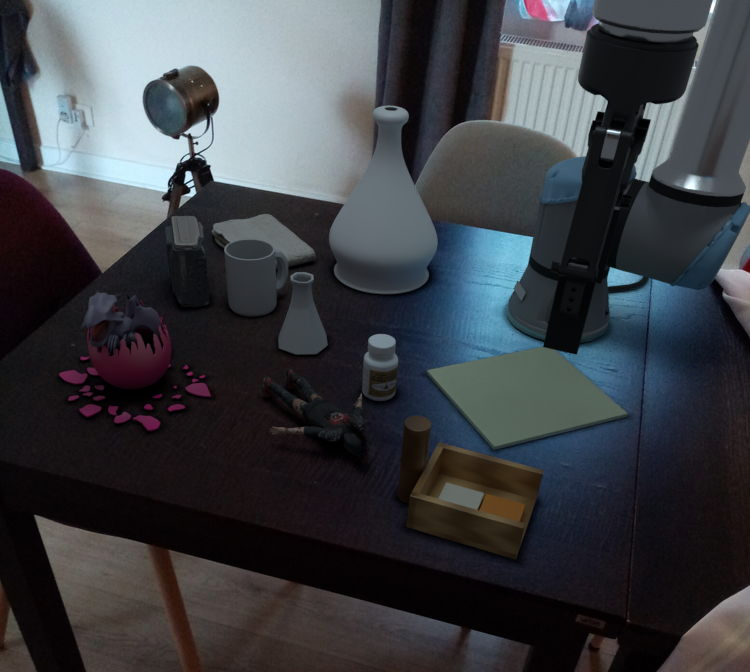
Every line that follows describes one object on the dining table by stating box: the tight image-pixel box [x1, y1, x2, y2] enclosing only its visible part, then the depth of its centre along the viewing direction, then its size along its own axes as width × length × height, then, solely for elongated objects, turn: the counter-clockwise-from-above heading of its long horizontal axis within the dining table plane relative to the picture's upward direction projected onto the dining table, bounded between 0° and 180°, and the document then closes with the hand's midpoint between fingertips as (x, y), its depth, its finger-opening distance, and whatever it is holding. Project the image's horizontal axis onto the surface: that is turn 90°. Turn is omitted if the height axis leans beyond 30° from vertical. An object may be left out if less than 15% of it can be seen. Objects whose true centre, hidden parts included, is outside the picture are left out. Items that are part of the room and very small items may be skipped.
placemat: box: [426, 346, 629, 451], centre depth 103 cm, size 20×18×1 cm
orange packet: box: [479, 494, 526, 522], centre depth 84 cm, size 4×3×1 cm
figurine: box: [261, 367, 371, 467], centre depth 94 cm, size 13×6×20 cm
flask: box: [277, 271, 329, 355], centre depth 107 cm, size 7×7×10 cm
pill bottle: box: [361, 333, 399, 402], centre depth 100 cm, size 4×4×8 cm
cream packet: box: [438, 483, 484, 510], centre depth 85 cm, size 4×3×1 cm
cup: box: [223, 239, 289, 318], centre depth 116 cm, size 7×10×9 cm
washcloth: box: [211, 213, 317, 269], centre depth 132 cm, size 12×18×3 cm, turn 34°
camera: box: [163, 215, 210, 309], centre depth 117 cm, size 11×6×10 cm, turn 12°
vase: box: [328, 105, 439, 295], centre depth 120 cm, size 17×17×25 cm
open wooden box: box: [397, 414, 545, 560], centre depth 83 cm, size 15×10×10 cm
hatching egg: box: [58, 290, 212, 432], centre depth 96 cm, size 20×16×14 cm
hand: (574, 312), depth 67 cm, fingers open, 13 cm apart
